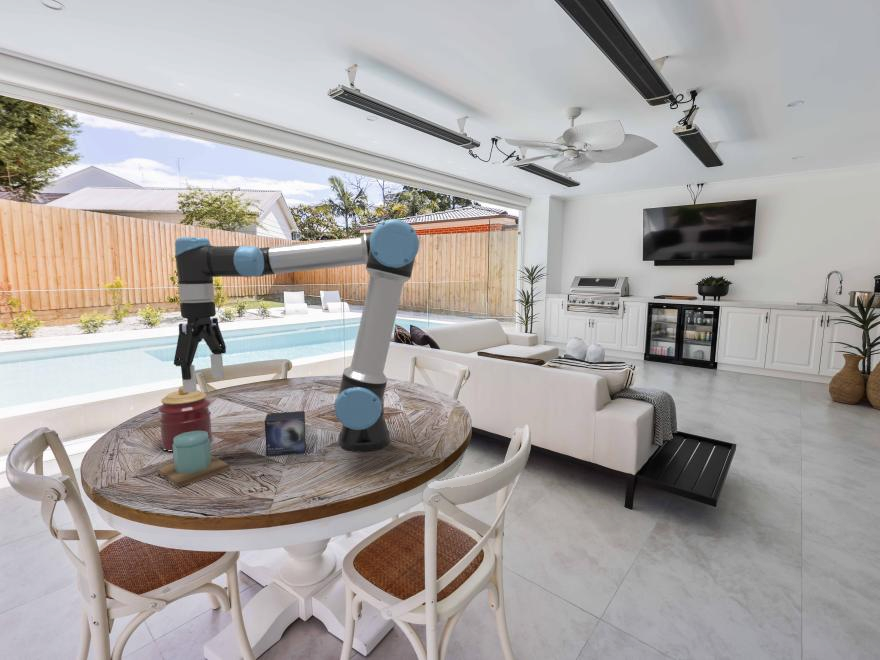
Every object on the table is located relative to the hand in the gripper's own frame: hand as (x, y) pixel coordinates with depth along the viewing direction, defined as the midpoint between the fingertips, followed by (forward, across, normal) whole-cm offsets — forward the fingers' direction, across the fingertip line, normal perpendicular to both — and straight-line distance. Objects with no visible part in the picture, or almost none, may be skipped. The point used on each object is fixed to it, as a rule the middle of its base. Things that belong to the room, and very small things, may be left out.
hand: (205, 384), depth 107 cm
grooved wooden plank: (+22, +3, -3) cm, 22 cm away
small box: (+22, -10, +16) cm, 29 cm away
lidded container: (+20, +3, -3) cm, 21 cm away
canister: (+22, -15, -14) cm, 30 cm away
